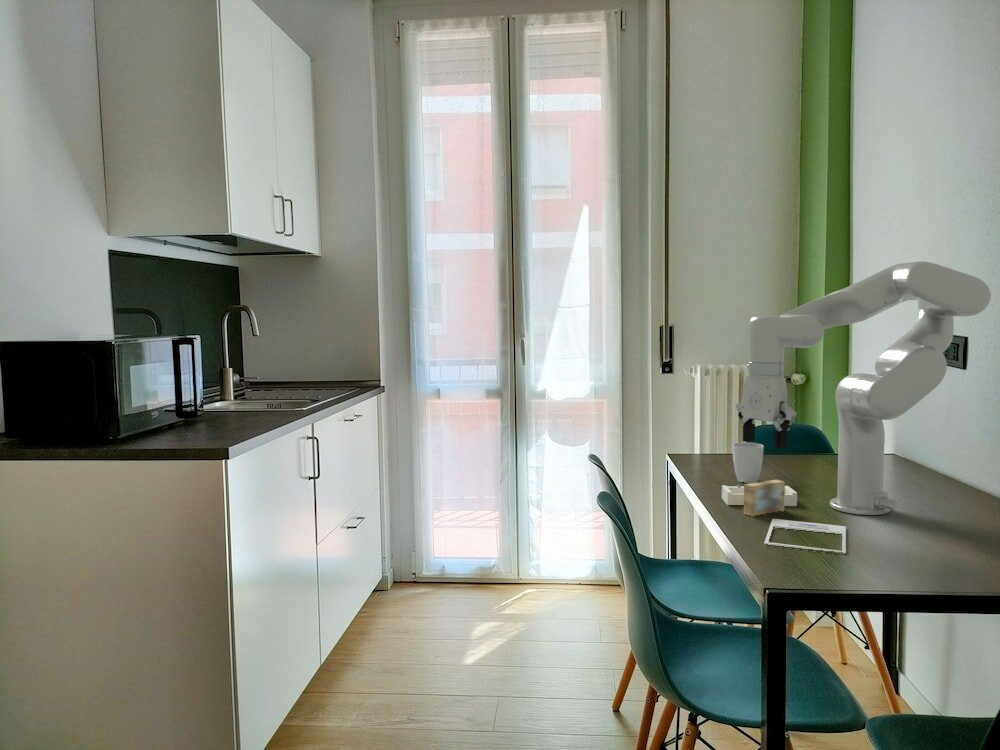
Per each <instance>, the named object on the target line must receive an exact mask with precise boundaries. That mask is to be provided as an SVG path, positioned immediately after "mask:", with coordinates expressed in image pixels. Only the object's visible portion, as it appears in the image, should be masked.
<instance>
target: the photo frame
mask: <svg viewBox="0 0 1000 750" xmlns="http://www.w3.org/2000/svg"><path fill="white" fill-rule="evenodd" d="M773 527H775V528H773ZM777 528H785V529H784V530H787V529H795V530H794V531H796V530H806V531H814V532H826V533H835V534H842V535H841V536H842V538H841V539H842V541H841V542H842V543H841V550H838V549H837V550H836V549H830V548H829V549H828V548H822V547H811V546H803V545H795V544H786V543H785V544H784V543H778V542H770V540H771V537H772V534H771V533H773V531H774V529H777ZM772 530H773V531H772ZM814 532H813V533H814ZM770 536H771V537H770ZM769 539H770V540H769ZM764 544H768V545H775V546H784V547H794V548H802V549H813V550H823V551H834V552H843V553H846V554H847V527H846V525H845V526H844V525H837V524H836V525H835V524H826V523H818V522H817V523H816V522H807V521H799V520H798V521H797V520H788V519H779V518H772V519H771V522H770V525H769V528H768V531H767V534H766V537H765V539H764V542H763V545H764Z"/></svg>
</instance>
